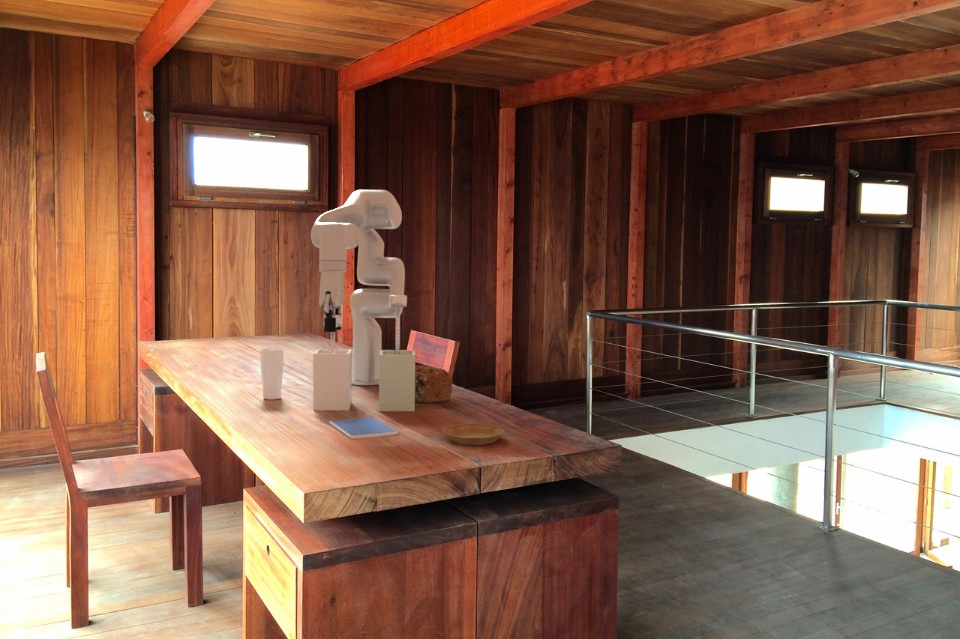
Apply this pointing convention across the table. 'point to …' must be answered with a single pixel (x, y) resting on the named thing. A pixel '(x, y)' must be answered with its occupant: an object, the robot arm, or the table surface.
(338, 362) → the press white
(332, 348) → the plunger white
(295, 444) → the table surface
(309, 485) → the table surface
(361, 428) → the tablet computer
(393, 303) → the silver rod piece
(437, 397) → the bread
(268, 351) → the drinking glass
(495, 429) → the plant saucer
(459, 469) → the table surface
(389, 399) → the press sage
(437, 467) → the table surface
